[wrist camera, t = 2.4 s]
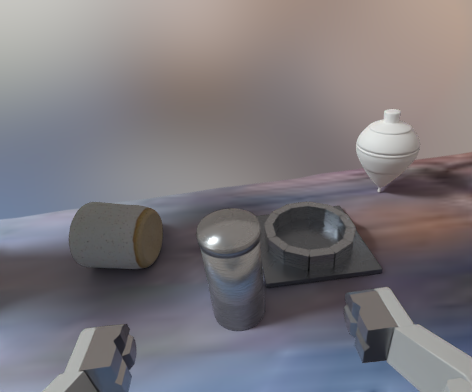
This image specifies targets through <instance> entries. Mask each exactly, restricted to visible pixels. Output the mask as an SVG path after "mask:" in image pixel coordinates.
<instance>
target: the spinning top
mask: <svg viewBox="0 0 472 392" xmlns="http://www.w3.org/2000/svg"><path fill="white" fill-rule="evenodd" d="M400 115H401V111H400V110H397V109H388V110H385V111H384V120H379V121H376V122H373V123H371V124H370V125H369V126H368V127H367V128H366V129H365V130H363V132H362V133H361V134H360V136H359V137H358V140H357V143H356V151H357V155H358V158H359V160H360V162H361V165H362V166H363V168H364V170H365V171H366V173H367V174H368V176H369V177H370V179H371V180H372V181H373V182H374V184H375V185H376V186H377V187H378V192H379V193H380V192H381V187H384V186H386V185H387V184H389V183H390V182H392V181H393V180H394V179H395V178H397V177H398V176H399V175H400V174H402V173H403V172H404V171H405V170H406V169H407V168H408V167H409V166H410V165H411V164H412V162H413V161H414V160H415V159H416V157H417V155H418V153H419V150H420V140H419V137H418V135H417V133H416V132H415V131H414V129H413V127H412V126H411V125H410V124H408V123H406V122H403V121H400V120H399V118H400Z"/></svg>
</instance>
